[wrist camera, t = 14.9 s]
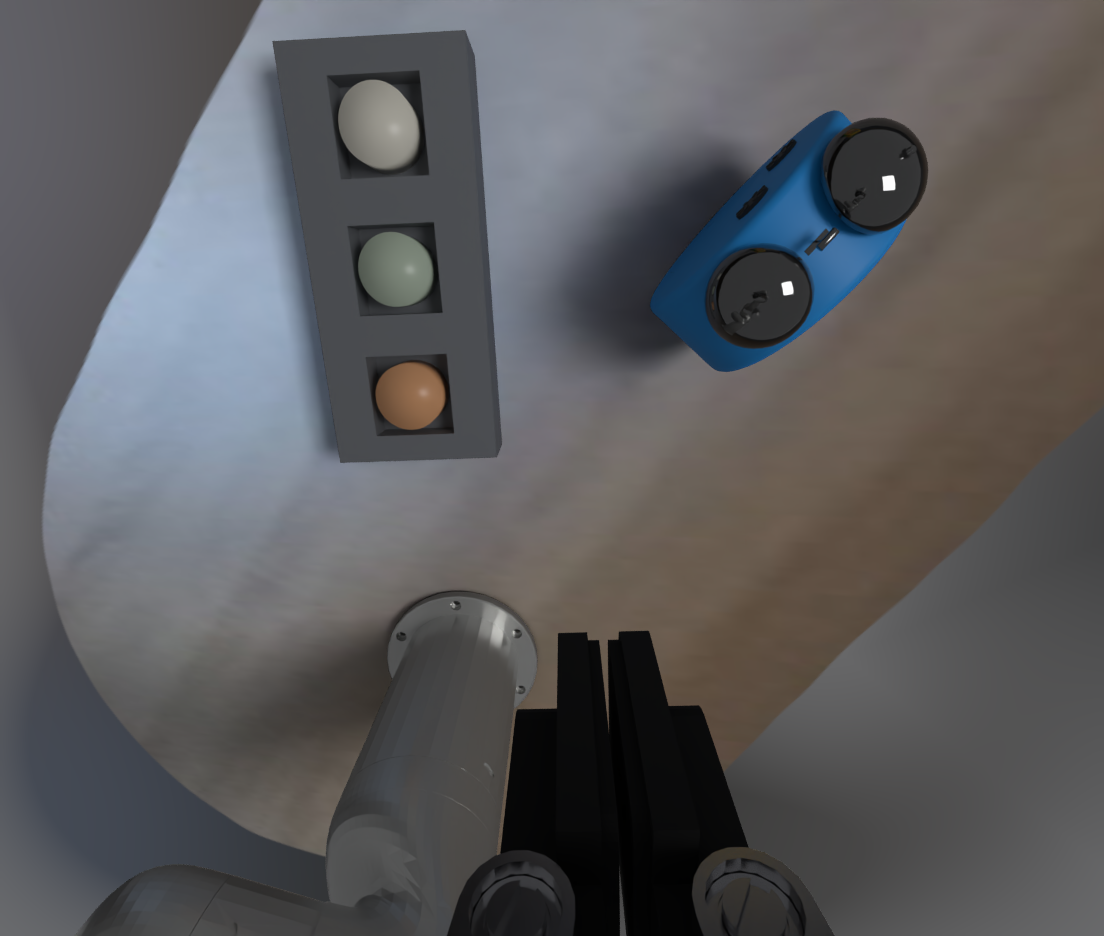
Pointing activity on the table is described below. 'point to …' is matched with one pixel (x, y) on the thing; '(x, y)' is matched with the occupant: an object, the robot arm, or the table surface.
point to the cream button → (381, 127)
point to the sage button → (397, 269)
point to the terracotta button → (412, 394)
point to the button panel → (404, 207)
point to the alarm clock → (793, 239)
